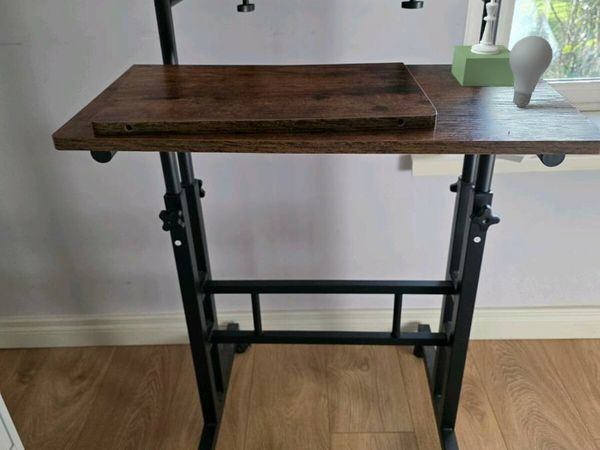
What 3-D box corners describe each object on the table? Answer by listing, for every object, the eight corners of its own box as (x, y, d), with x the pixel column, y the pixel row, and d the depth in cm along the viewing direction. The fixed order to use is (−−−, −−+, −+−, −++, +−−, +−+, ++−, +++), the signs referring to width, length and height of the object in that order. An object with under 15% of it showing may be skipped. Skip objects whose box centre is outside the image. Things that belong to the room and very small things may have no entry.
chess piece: (486, 56, 93) (496, -5, 88) (464, 50, 97) (473, -9, 92) (505, 52, 96) (515, -8, 90) (483, 46, 99) (492, -12, 94)
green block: (512, 85, 95) (518, 57, 92) (462, 86, 95) (466, 58, 93) (498, 71, 103) (502, 45, 100) (451, 72, 103) (454, 45, 100)
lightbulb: (516, 98, 89) (529, 30, 84) (548, 108, 85) (565, 36, 79) (492, 105, 87) (504, 35, 81) (524, 116, 82) (540, 43, 76)
